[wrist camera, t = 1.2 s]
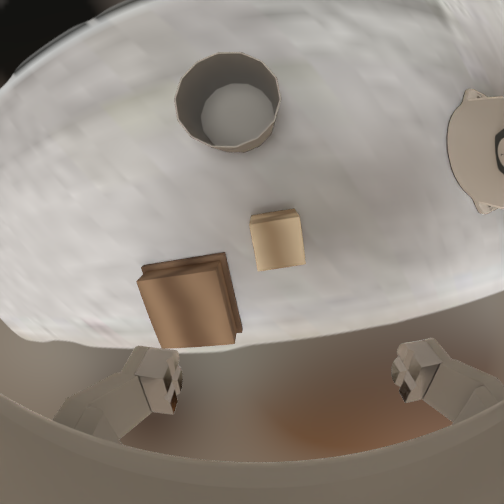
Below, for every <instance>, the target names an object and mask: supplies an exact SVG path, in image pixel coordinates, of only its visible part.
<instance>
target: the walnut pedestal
mask: <svg viewBox="0 0 504 504" xmlns="http://www.w3.org/2000/svg"><path fill="white" fill-rule="evenodd" d="M141 269H142V272H143V275H142V276H141V277H140V278H139V279H138V280H137V281H136V282H137V285H138V287H139V290H140V293H141V296H142V299H143V302H144V304H145V307H146V310H147V313H148V315H149V318H150V320H151V323H152V326H153V328H154V331H155V333H156V335H157V338H158V340H159V343H160V345H161V347H162V349H165V348H186V347H202V346H215V345H227V344H235V339H236V333H242V330H243V329H242V325H241V320H240V316H239V312H238V308H237V303H236V299H235V295H234V290H233V286H232V281H231V277H230V272H229V268H228V263H227V259H226V254H225V252H224V253H218V254H211V255H205V256H199V257H192V258H186V259H180V260H174V261H167V262H161V263H155V264H149V265H143V266H142V267H141Z"/></svg>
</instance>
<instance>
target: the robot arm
mask: <svg viewBox="0 0 504 504" xmlns="http://www.w3.org/2000/svg"><path fill="white" fill-rule="evenodd" d="M447 143H448V154H449V159H450V163H451V167H452V170H453V172H454V175H455V177H456V179H457V181H458V183H459V184H460V186H461V187H462V188H463V190H464V191H465V192H466V193H467V194H468V195H469V196H470V197H471V198H472V199H473V201H474V203H475V205H476V208H477V210H478V212H479V213H480V214H488V213H490V212H492V211H494V210H496V209H498V208H501V209H504V96H497V97H488V96H486V95H484V94H482V93H480V92H478V91H476V90H474V89H467V90H466V91H465V94H464V98H463V102H462V104H461V105H460V106H459V107H458V108H457V109H456V110H455V112H454V113H453V115H452V117H451V120H450V123H449V127H448V137H447ZM397 354H398V357H397V359H395V360H394V362H393V365H392V368H391V369H392V370H391V371H392V372H391V375H392V379H393V381H394V383H395V384H396V385H398V386H399V387H400V389H399V393H400V395H401V396H402V398H403V400H404V402H405V403H407V402H412V401H416V400H420V399H423V401H425V402H426V403H427V404H429V405H430V406H432V407H433V408H434V409H436V410H437V411H438V412H440V413H441V414H443V415H444V416H445V417H447V418H448V419H449V420H451V421H452V422H454V423H453V424H452V425H451V426H448V427H446V428H443V429H441V430H438V431H436V432H433V433H430V434H427V435H425V436H421V437H418V438H415V439H412V440H409V441H405V442H402V443H398V444H395V445H391V446H387V447H383V448H379V449H375V450H370V451H366V452H361V453H356V454H350V455H344V456H338V457H332V458H324V459H315V460H305V461H291V462H265V463H263V462H262V463H261V462H257V463H255V462H226V461H212V460H202V459H193V458H185V457H178V456H172V455H166V454H161V453H155V452H151V451H146V450H141V449H137V448H133V447H129V446H125V445H122V443H121V441H120V440H119V439H120V438H122V437H123V436H124V435H125V434H127V433H128V432H129V431H130V430H131V429H133V428H134V427H135V426H136V425H137V424H139V423H140V422H141V421H142V420H143V419H145V418H146V417H147V416H148V415H149V414H151V412H157V413H165V414H174V412H175V409H176V406H177V403H178V400H177V396H176V395H178V394H179V393H180V392H181V389H182V384H183V373H182V368H181V367H180V366H179V365H178V362H179V359H180V358H179V354H178V351H176V350H170V349H162V348H154V347H145V346H137V347H135V349H134V350H133V352H132V354H131V356H130V357H129V359H128V360H127V362H126V364H125V366H124V367H123V369H122V371H121V372H120V373H115V374H113V375H111V376H109V377H107V378H105V379H103V380H101V381H99V382H97V383H95V384H93V385H91V386H89V387H87V388H86V389H84V390H82V391H80V392H78V393H76V394H74V395H72V396H70V397H68V398H67V399H66V400H65V402H64V403H63V405H62V406H61V408H60V409H59V411H58V413H57V414H56V415H55V417H54V418H53V420H51V419H48V418H46V417H44V416H42V415H40V414H38V413H35V412H33V411H31V410H29V409H27V408H26V407H24V406H22V405H20V404H18V403H16V402H14V401H13V400H11V399H9V398H7V397H6V396H4V395H2V394H1V393H0V504H504V386H503V384H502V383H501V382H500V381H499V379H498V378H496V377H494V376H491V375H489V374H487V373H484V372H482V371H480V370H478V369H475V368H473V367H471V366H469V365H466V364H464V363H462V362H460V361H457V360H452V359H451V357H450V356H449V355H448V354H447V353H446V352H445V350H444V349H443V348H442V347H441V346H440V344H439V343H438V342H437V341H436V340H435V339H434V338H429V339H424V340H420V341H414V342H408V343H402V344H400V346H399V347H398V350H397Z"/></svg>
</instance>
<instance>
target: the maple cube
mask: <svg viewBox="0 0 504 504" xmlns="http://www.w3.org/2000/svg"><path fill="white" fill-rule="evenodd" d="M249 226H250V231H251V237H252V242H253V248H254V253H255V259H256V264H257V270H258V271H265V270H271V269H278V268H284V267H291V266H297V265H303V264H306V263H305V254H304V246H303V238H302V230H301V223H300V217H299V215H298V214H297V212H296V210H295V209H288V210H281V211H275V212H268V213H262V214H256V215H251V219H250V224H249Z"/></svg>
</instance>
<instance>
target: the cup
mask: <svg viewBox="0 0 504 504" xmlns="http://www.w3.org/2000/svg"><path fill="white" fill-rule="evenodd" d="M174 102H175V108H176V114H177V120H178V121H179V123H180V124H181V125H182V127H183V128H184V129H185V130H186V132H187V133H188V134H189V136H190V137H191V138H193V139H195V140H198V141H200V142H202V143H204V144H206V145H208V146H210V147H213V148H216V149H219V150H223V151H226V152H247V151H249V150H252V149H254V148H256V147H259V146H260V145H261V144H262V143H263V142H264V141H265V140H266V139H267V138H268V137H269V136H270V135H271V133H272V129H273V126H274V123H275V119H276V116H277V112H278V109H279V106H280V102H281V95H280V90H279V86H278V81H277V77H276V76H275V75H274V74H273V73H272V72H271V70H270V69H269V68H268V67H267V66H266V65H265V63H264V62H263V61H261V60H259V59H256V58H254V57H252V56H249V55H247V54H245V53H242V52H218V53H215V54H213V55H211V56H208V57H206V58H204V59H202V60H199V61H197V62H196V63H195V64H194V65H193V66H192V67H191V68H190V69H189V70H188V71H187V72H186V73H185V74H184V76H183V77H182V78H181V79H180V82H179V85H178V88H177V91H176V95H175V98H174Z"/></svg>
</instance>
